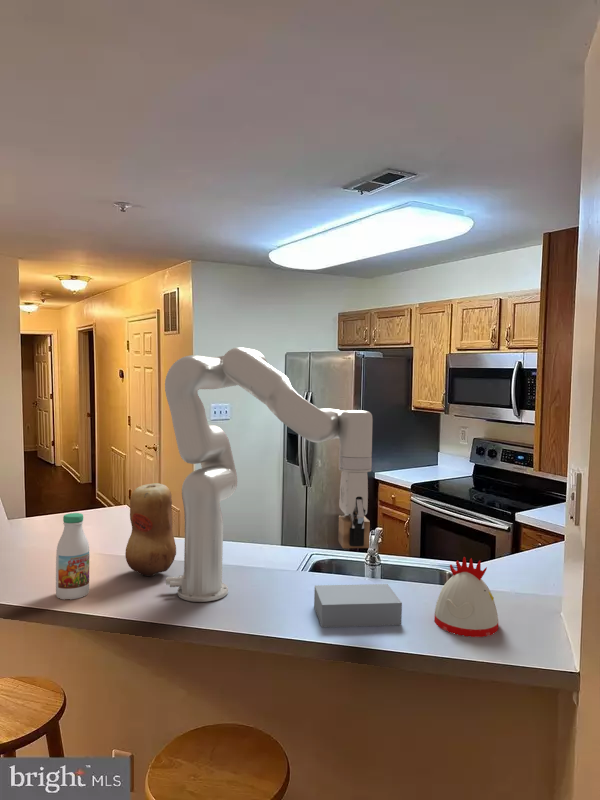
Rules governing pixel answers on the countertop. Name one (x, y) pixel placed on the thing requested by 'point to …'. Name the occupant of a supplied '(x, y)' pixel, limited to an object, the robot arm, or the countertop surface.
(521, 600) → the countertop surface
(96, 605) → the countertop surface
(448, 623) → the kitchen timer
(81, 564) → the milk bottle
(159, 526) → the butternut squash
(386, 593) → the block
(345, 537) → the walnut cube
